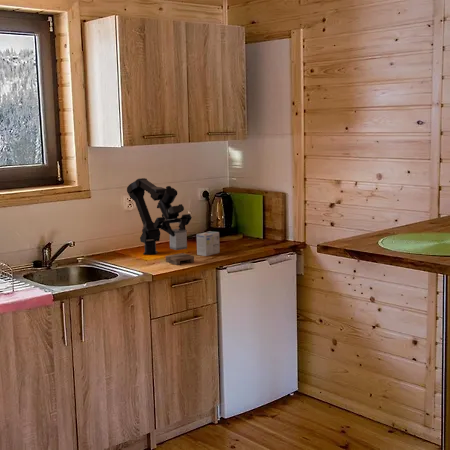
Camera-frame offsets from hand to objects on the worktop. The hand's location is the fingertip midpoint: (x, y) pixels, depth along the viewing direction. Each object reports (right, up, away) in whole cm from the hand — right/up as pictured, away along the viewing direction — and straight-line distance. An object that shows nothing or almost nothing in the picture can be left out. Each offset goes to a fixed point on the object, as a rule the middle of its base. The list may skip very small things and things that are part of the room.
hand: (179, 235), depth 329 cm
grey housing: (-1, -6, +2) cm, 7 cm away
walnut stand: (0, -13, +4) cm, 14 cm away
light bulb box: (+13, -10, +22) cm, 28 cm away
